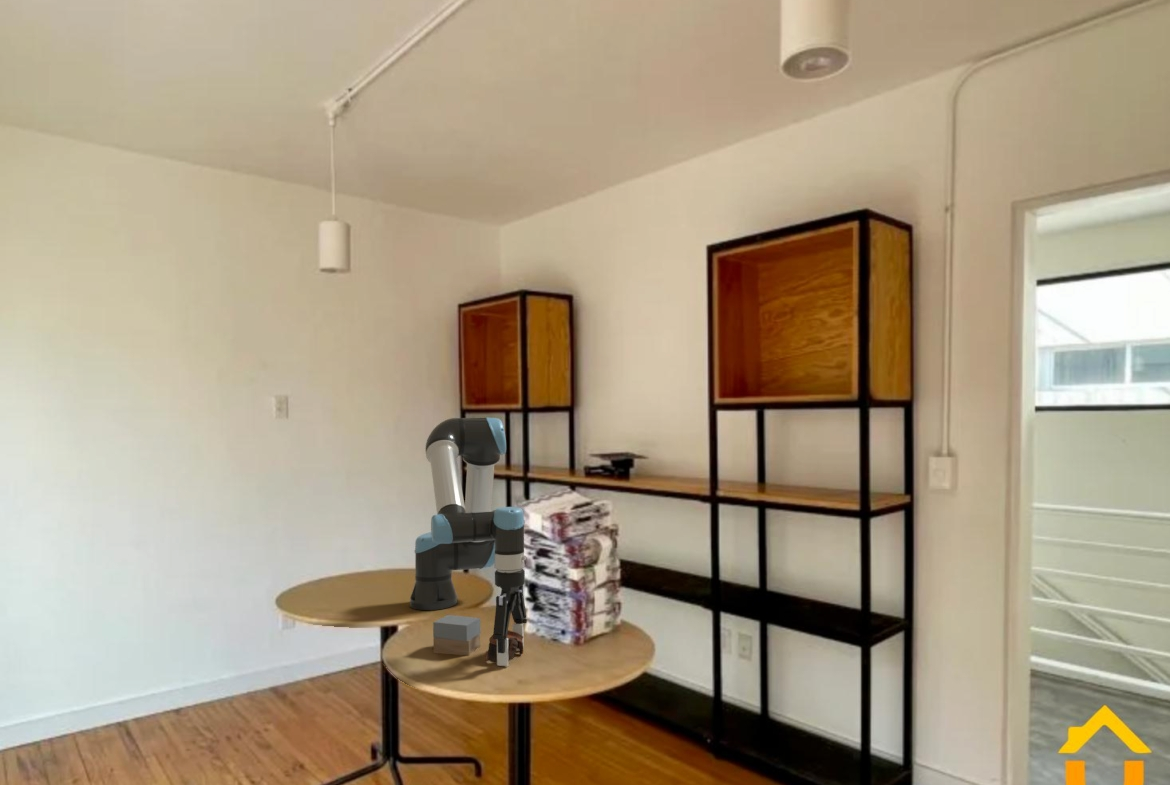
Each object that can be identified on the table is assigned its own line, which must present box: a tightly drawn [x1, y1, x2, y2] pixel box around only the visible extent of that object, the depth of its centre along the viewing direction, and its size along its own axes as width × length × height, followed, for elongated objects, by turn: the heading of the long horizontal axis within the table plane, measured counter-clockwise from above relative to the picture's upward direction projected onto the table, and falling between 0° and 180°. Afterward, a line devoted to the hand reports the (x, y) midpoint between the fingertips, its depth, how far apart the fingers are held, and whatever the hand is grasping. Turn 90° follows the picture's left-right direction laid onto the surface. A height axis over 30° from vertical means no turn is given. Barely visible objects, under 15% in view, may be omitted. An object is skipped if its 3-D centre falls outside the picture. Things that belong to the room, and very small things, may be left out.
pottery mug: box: [485, 629, 524, 664], centre depth 173 cm, size 12×10×8 cm
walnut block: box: [432, 633, 481, 657], centre depth 181 cm, size 7×10×4 cm
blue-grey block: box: [432, 614, 481, 641], centre depth 181 cm, size 7×10×4 cm
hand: (510, 657), depth 174 cm, fingers closed on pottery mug, 11 cm apart
